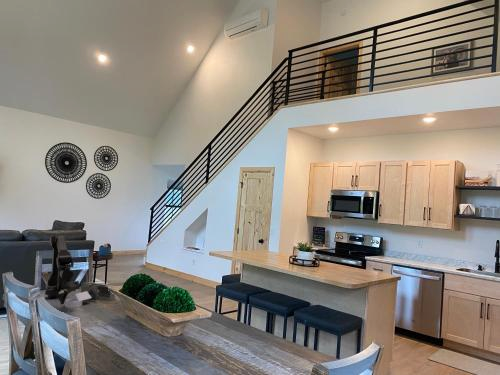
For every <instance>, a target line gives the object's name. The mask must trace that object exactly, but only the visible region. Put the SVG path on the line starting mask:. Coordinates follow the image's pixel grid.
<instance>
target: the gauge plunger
mask: <svg viewBox="0 0 500 375" xmlns="http://www.w3.org/2000/svg"><path fill="white" fill-rule="evenodd" d="M89 282H90V281H84V282H83V283H86V284H91V285H89V286H87V285H83V284H82V285H80V286H81V290H80V291H81V292H86V291H87V292H88V293H89V295H90V296H91V298H89V299H88V300H90V301H98V297H97V289H98V287H93V285H99V286H107V285H108V284H105V285H102V284H103V283H99V284H95V283H96V282H92V283H89ZM81 292H80V293H81Z"/></svg>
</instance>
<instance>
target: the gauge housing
mask: <svg viewBox="0 0 500 375" xmlns="http://www.w3.org/2000/svg"><path fill="white" fill-rule="evenodd" d="M88 282H89V283H93V282H91V281H88ZM94 283H95V284H100V283H98V282H97V283H96V282H94ZM101 284H102V285H107V286H99V285H93V287H98V289H97V300H98V299H99V300H103V301H104V300H105V301H109V302H110V301H114V300H115V298H116V294H115V295H114V294H112V293H111V292H110V291H108V286H113V285H112V284H110V285H109V284H104V283H101ZM82 285H87V286H89V285H91V284H86V283H84V282H83V283H82Z"/></svg>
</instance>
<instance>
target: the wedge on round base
mask: <svg viewBox="0 0 500 375" xmlns="http://www.w3.org/2000/svg"><path fill="white" fill-rule="evenodd" d="M89 298H91V296H90V295H89V293H88V292H87V291H86V292H77V293H74V294H73V295H72V296H70V298H66V299H65V305H64V306H65V308H69V309H73V308H80V307H83V301H85V300H89Z"/></svg>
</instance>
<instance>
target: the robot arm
mask: <svg viewBox="0 0 500 375" xmlns="http://www.w3.org/2000/svg"><path fill="white" fill-rule="evenodd" d="M66 242H67V236H66V235H62V234H59V235H58V234H56V235H51V236H50V237H49V243H50V247H51V248H52V257H51V258H52V263H51V272H50V273H49V275H48V278H47V279H46V282H45V289H46V290H45V291H44V294H45V299H49V300H55V299H58V301H59V302H60V304H61V305H64V304H65V303H66V300H67V297H68V295H69V294H71V293H72V292H75V291H76V290H79V289H80V286H81V285H80V282H79V281H78V280H76V281H72V279H73V277H74V272H73V271H72V270H71V268H73V267H74V264H75V263H74V258H73V256H72V254H71V252H70V251H68V249H67V248H68V247H67V245H66Z"/></svg>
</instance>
